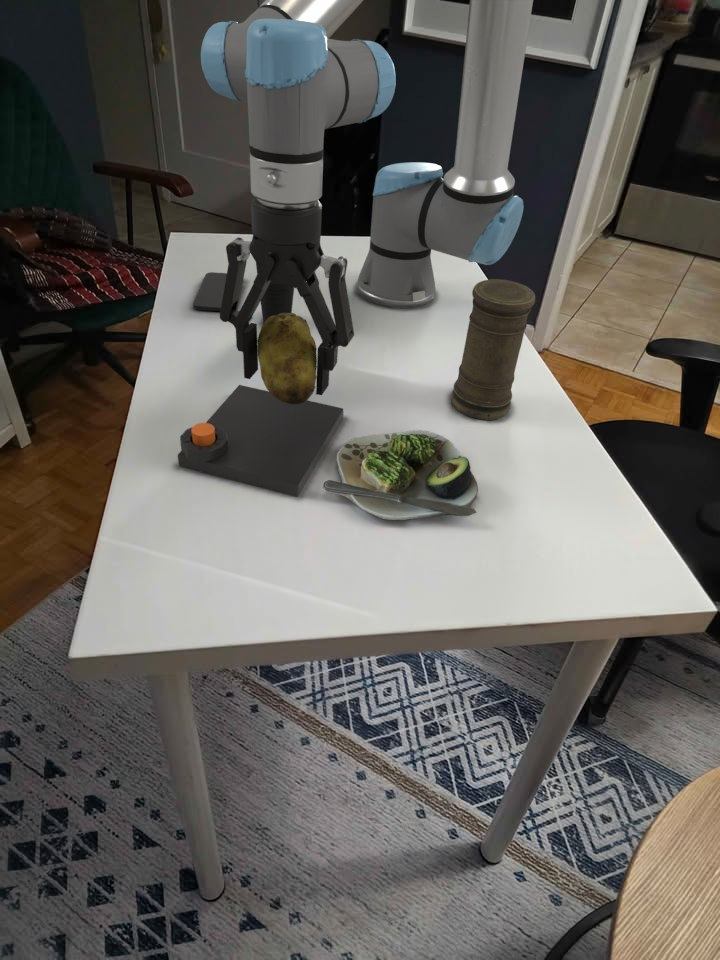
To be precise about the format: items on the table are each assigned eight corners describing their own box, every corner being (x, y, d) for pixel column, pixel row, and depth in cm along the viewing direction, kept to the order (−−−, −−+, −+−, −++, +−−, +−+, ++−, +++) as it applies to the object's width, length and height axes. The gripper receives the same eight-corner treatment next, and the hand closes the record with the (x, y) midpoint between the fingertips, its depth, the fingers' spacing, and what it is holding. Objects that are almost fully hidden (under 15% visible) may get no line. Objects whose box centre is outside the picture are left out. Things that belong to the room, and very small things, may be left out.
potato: (244, 408, 78) (241, 349, 73) (264, 357, 88) (262, 301, 83) (312, 415, 78) (314, 356, 73) (324, 363, 88) (327, 308, 83)
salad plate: (336, 543, 73) (338, 513, 70) (307, 449, 86) (308, 420, 83) (494, 523, 78) (502, 494, 75) (443, 436, 91) (448, 408, 88)
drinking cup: (271, 336, 110) (269, 215, 97) (246, 319, 114) (241, 201, 101) (307, 325, 114) (309, 207, 101) (281, 309, 118) (280, 194, 105)
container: (510, 424, 94) (540, 309, 83) (448, 415, 95) (470, 300, 83) (509, 392, 101) (537, 282, 89) (452, 384, 102) (472, 273, 90)
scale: (237, 395, 95) (236, 374, 93) (343, 419, 92) (344, 398, 90) (175, 467, 81) (171, 445, 79) (296, 499, 78) (296, 476, 76)
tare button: (199, 431, 82) (198, 420, 81) (219, 436, 82) (218, 425, 81) (188, 444, 80) (187, 432, 79) (209, 449, 80) (208, 437, 79)
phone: (191, 305, 114) (206, 271, 126) (191, 310, 115) (206, 275, 126) (233, 308, 115) (244, 274, 126) (233, 312, 115) (244, 278, 127)
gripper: (176, 191, 68) (195, 377, 82) (375, 226, 64) (359, 415, 78) (209, 174, 73) (221, 351, 88) (394, 205, 69) (375, 385, 84)
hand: (286, 381), depth 83 cm, fingers closed on potato, 9 cm apart
